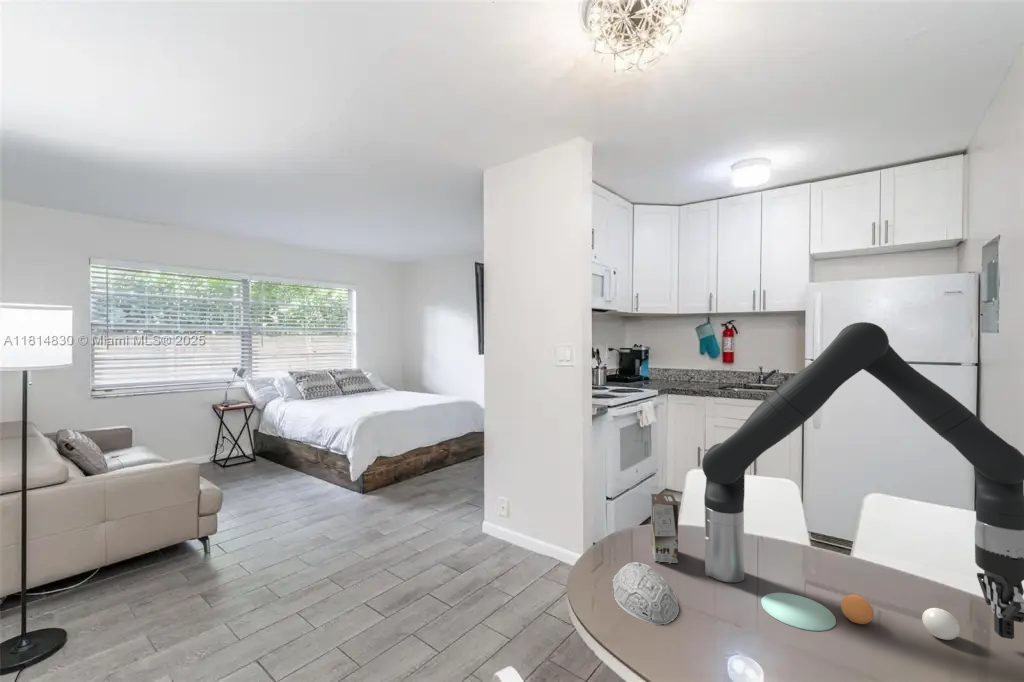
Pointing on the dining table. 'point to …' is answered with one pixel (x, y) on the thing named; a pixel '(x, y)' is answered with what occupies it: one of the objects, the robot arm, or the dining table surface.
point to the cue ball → (940, 623)
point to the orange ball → (857, 609)
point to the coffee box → (664, 527)
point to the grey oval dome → (645, 594)
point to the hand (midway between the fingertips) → (1004, 635)
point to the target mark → (798, 611)
